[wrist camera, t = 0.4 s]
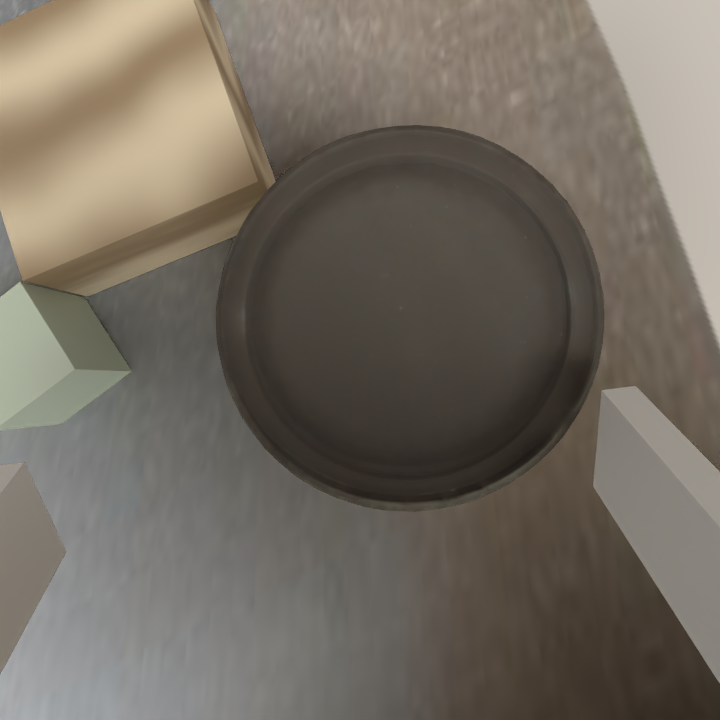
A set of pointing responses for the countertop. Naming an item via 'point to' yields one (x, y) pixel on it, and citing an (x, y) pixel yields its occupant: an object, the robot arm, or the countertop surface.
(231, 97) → the beech block
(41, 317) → the sage block
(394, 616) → the countertop surface
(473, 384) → the coffee can
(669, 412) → the countertop surface
